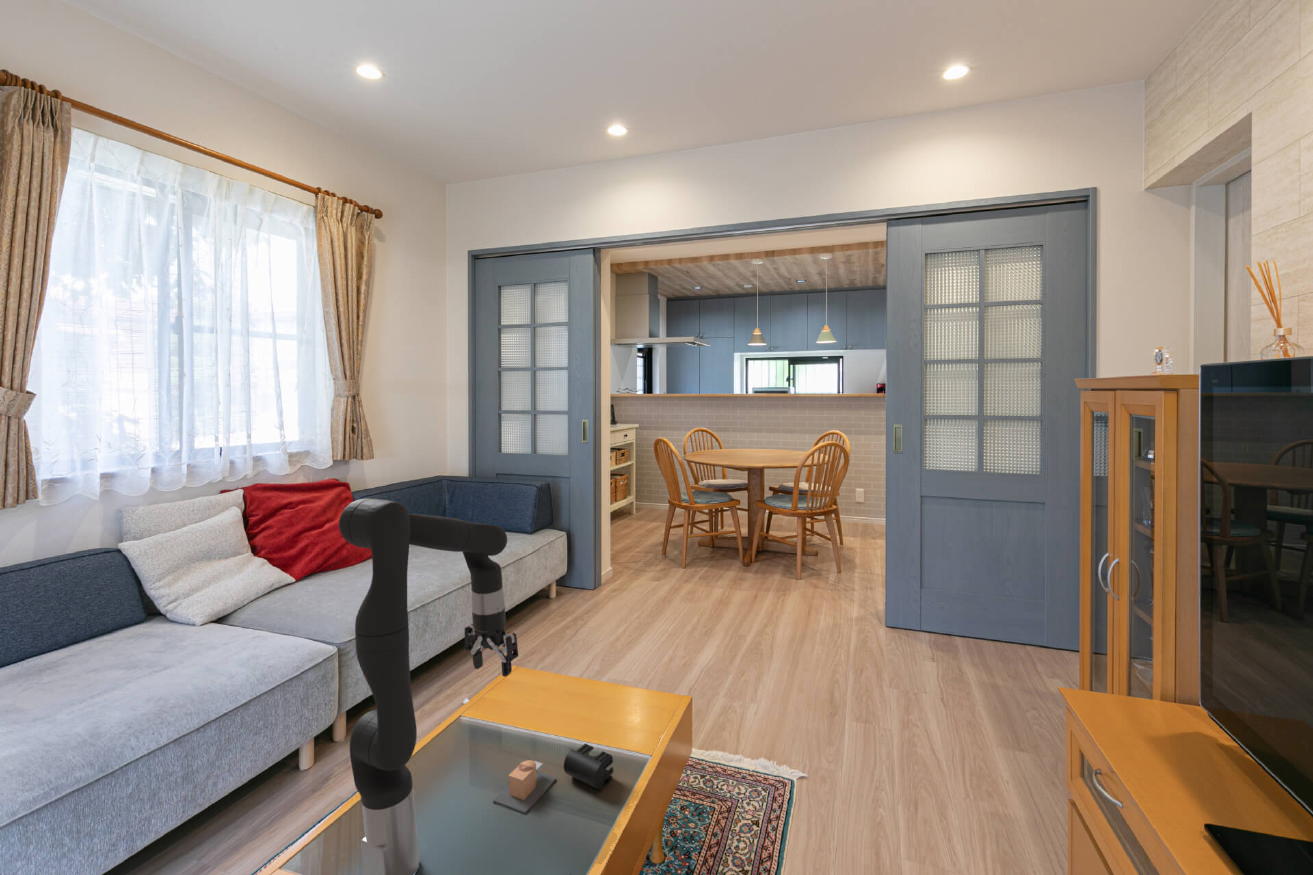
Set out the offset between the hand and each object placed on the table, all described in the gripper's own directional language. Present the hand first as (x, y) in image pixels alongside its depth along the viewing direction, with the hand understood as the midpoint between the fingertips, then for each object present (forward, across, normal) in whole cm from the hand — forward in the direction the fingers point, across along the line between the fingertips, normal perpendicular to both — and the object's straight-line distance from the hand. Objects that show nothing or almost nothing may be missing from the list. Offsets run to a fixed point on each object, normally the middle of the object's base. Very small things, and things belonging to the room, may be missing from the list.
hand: (492, 671), depth 148 cm
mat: (+26, +10, -2) cm, 28 cm away
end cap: (+27, +22, +7) cm, 35 cm away
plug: (+26, +10, -1) cm, 28 cm away
